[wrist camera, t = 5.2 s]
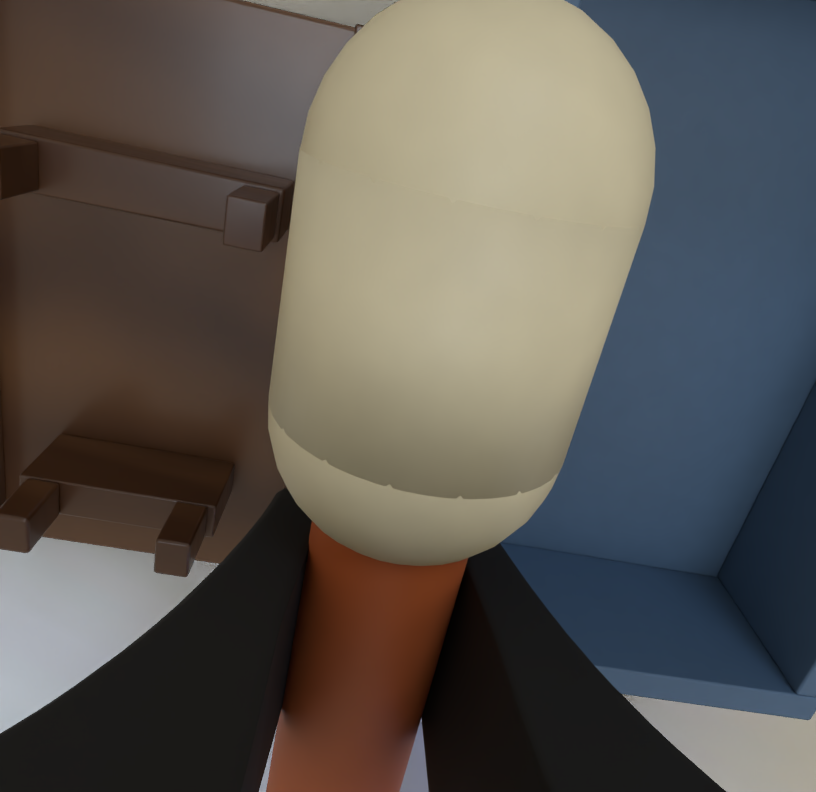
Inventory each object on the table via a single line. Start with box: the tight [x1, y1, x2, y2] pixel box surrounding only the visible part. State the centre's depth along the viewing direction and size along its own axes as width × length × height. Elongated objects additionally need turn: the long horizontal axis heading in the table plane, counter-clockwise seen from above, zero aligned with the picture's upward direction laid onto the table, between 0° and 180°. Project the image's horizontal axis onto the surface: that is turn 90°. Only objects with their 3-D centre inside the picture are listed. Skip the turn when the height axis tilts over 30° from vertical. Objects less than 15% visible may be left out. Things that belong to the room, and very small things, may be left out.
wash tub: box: [500, 0, 816, 720], centre depth 15 cm, size 17×12×5 cm
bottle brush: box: [266, 0, 656, 792], centre depth 8 cm, size 12×3×3 cm, turn 169°
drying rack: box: [0, 0, 364, 577], centre depth 15 cm, size 15×9×5 cm, turn 168°
